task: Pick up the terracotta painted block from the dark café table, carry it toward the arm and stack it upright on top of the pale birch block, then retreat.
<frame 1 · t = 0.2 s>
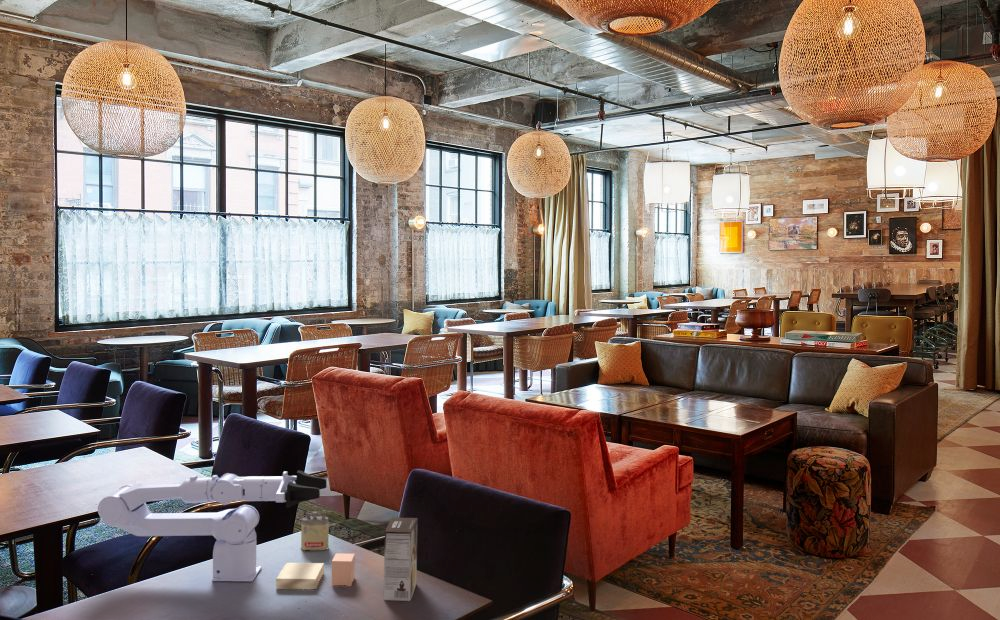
hand: (322, 488, 175), 22 cm above the table, tool horizontal, fingers open, 7 cm apart
coffee box: (400, 592, 169), on the table
terracotta block: (343, 582, 174), on the table
yellow package: (314, 549, 193), on the table
birch block: (300, 583, 174), on the table
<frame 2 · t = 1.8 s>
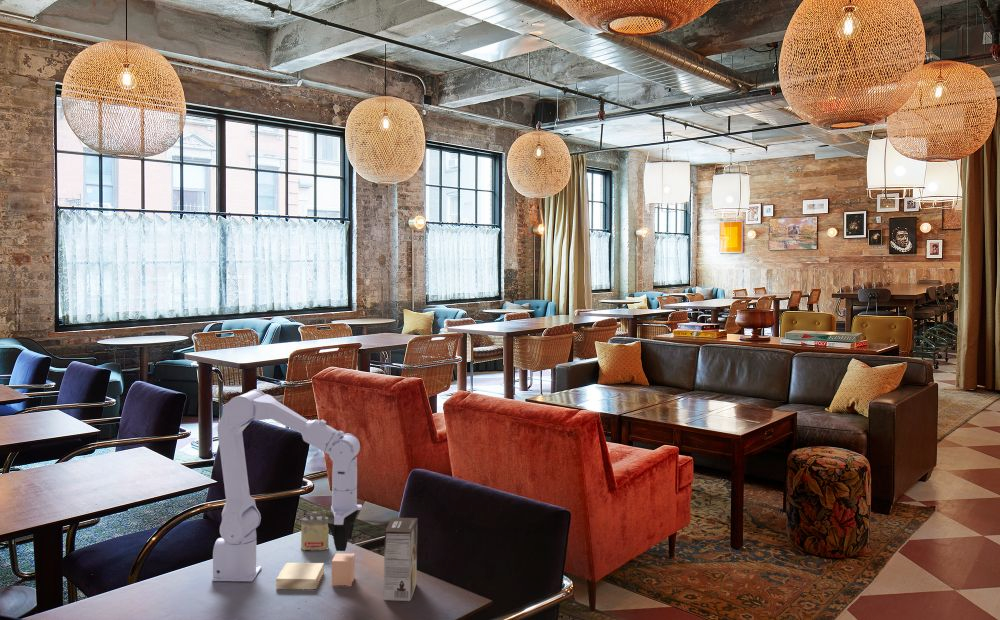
hand: (343, 544, 173), 9 cm above the table, tool pointing down, fingers open, 7 cm apart
nothing on the table moved.
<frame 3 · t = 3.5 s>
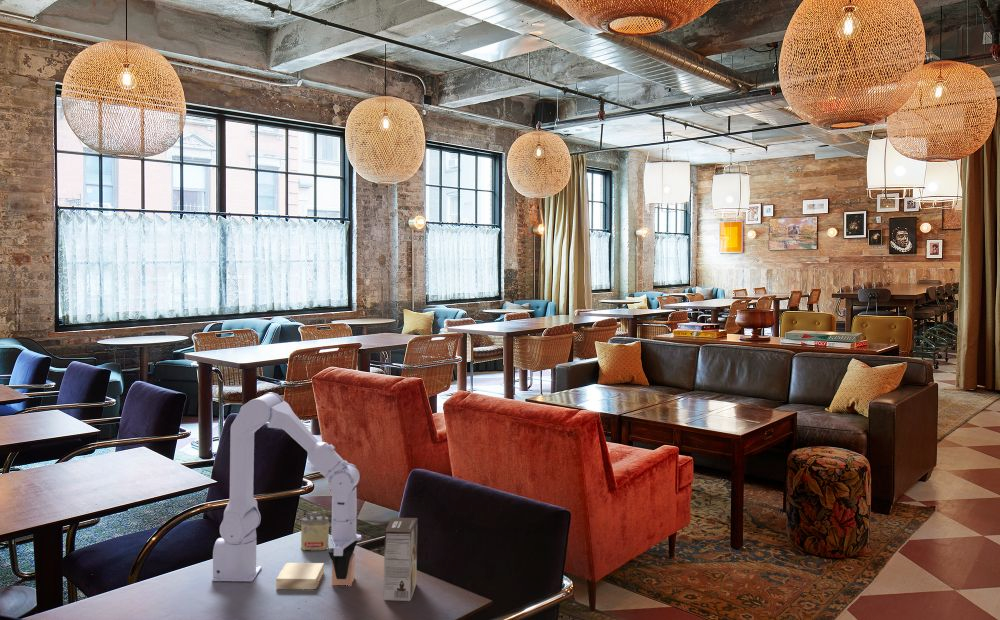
hand: (343, 573, 174), 2 cm above the table, tool pointing down, fingers closed on terracotta block, 4 cm apart
terracotta block: (343, 581, 174), on the table, touching gripper
everything else where it was.
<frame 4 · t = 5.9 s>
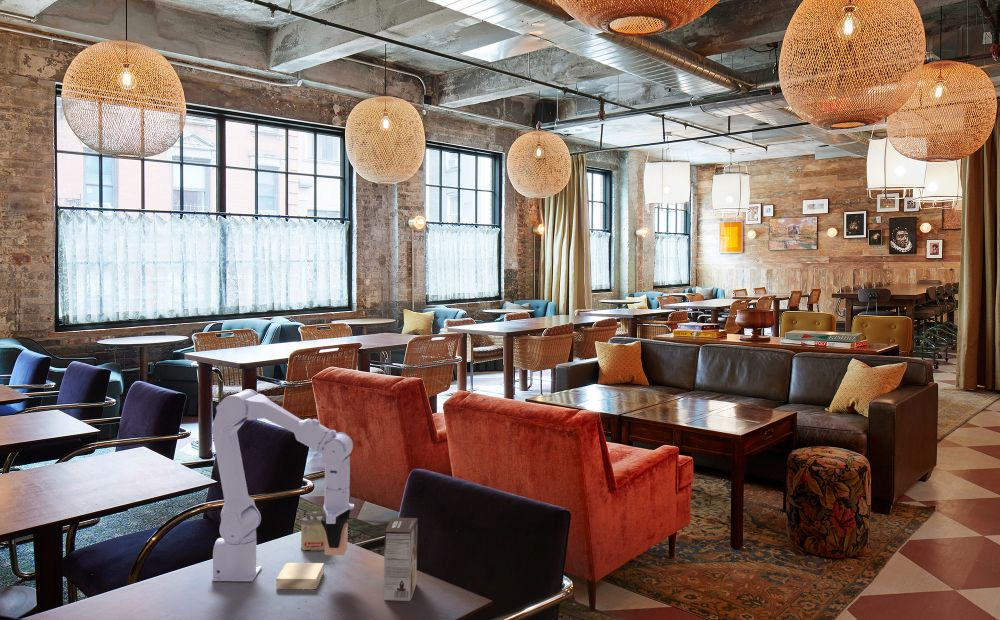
hand: (336, 543, 173), 9 cm above the table, tool pointing down, fingers closed on terracotta block, 4 cm apart
terracotta block: (336, 551, 173), point 7 cm above the table, touching gripper
everything else where it was.
when the fingers open (6 cm above the table, at t = 8.3 s): terracotta block drops 1 cm, point 3 cm above the table.
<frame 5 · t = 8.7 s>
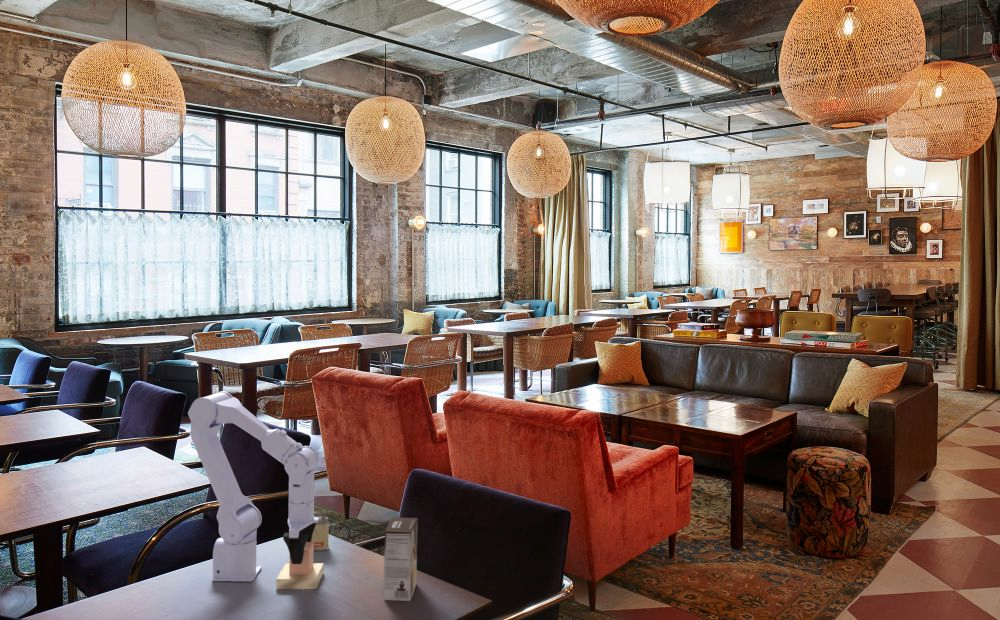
hand: (300, 556, 173), 6 cm above the table, tool pointing down, fingers open, 7 cm apart
terracotta block: (301, 570, 174), point 3 cm above the table
everything else where it was.
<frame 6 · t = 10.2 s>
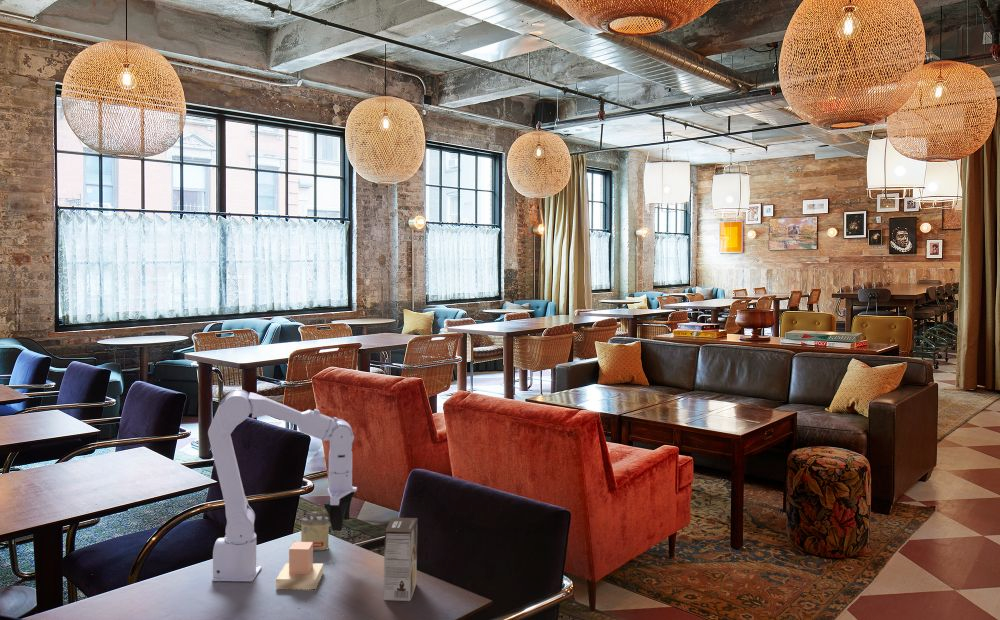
hand: (340, 524, 182), 11 cm above the table, tool pointing down, fingers open, 7 cm apart
terracotta block: (301, 570, 174), point 2 cm above the table, touching birch block
birch block: (300, 583, 174), on the table, touching terracotta block
everything else where it was.
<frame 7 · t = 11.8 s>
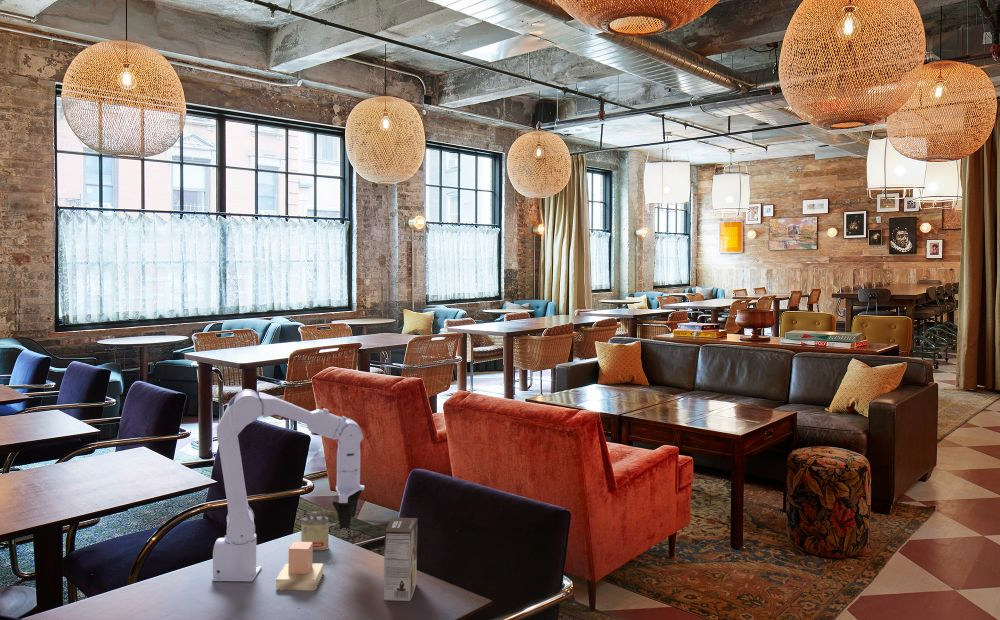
hand: (347, 522, 184), 10 cm above the table, tool pointing down, fingers open, 7 cm apart
nothing on the table moved.
at the end: terracotta block 0.5 cm off-centre on the birch block, point 3.1 cm above the birch block's base; terracotta block tilted 1°; the gripper is holding nothing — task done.
